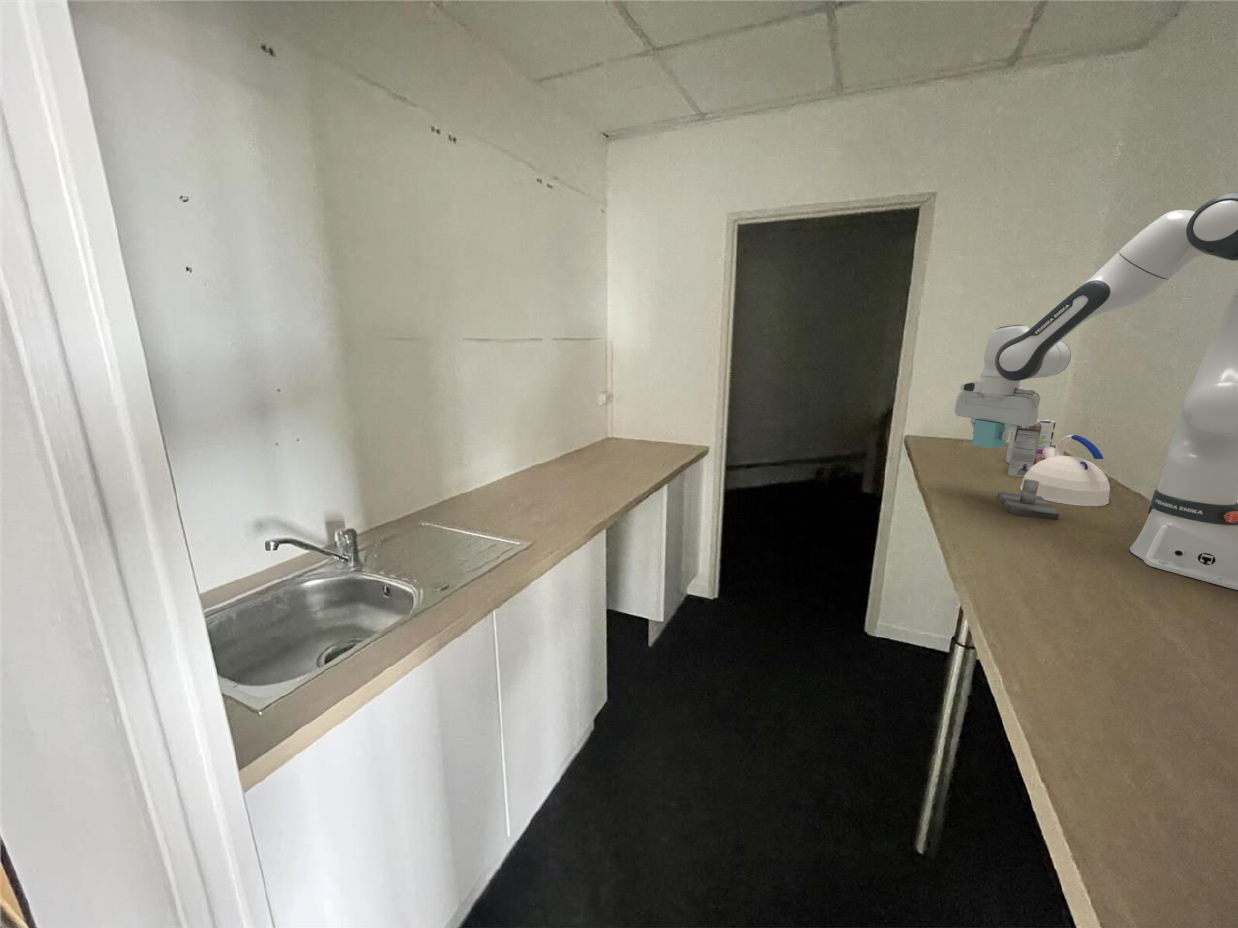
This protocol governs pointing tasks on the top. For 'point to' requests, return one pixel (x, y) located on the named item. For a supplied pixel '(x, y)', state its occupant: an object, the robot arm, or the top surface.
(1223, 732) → the top surface
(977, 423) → the teal cube
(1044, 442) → the candy bar box
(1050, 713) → the top surface
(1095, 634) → the top surface
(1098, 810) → the top surface
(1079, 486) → the kettle
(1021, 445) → the coffee box
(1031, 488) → the post stand
